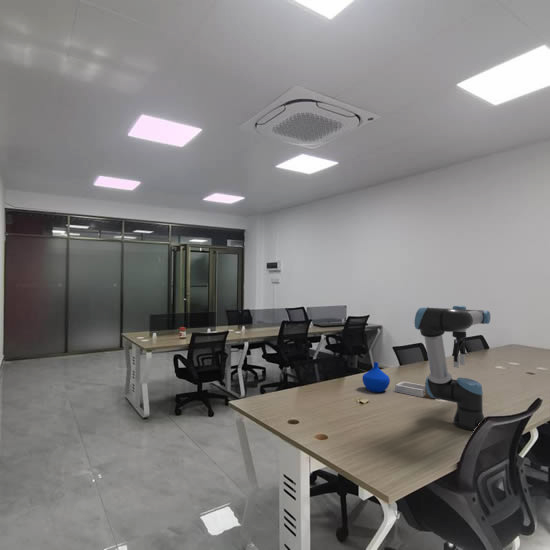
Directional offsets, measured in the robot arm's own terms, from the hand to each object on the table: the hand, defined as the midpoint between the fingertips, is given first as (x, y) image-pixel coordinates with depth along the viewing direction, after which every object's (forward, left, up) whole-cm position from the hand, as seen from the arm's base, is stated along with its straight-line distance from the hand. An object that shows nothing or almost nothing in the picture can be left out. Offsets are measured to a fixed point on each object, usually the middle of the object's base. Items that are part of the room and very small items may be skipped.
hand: (459, 366), depth 217 cm
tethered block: (+9, -8, -24) cm, 27 cm away
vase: (+52, +4, -24) cm, 58 cm away
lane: (+31, -9, -24) cm, 40 cm away
